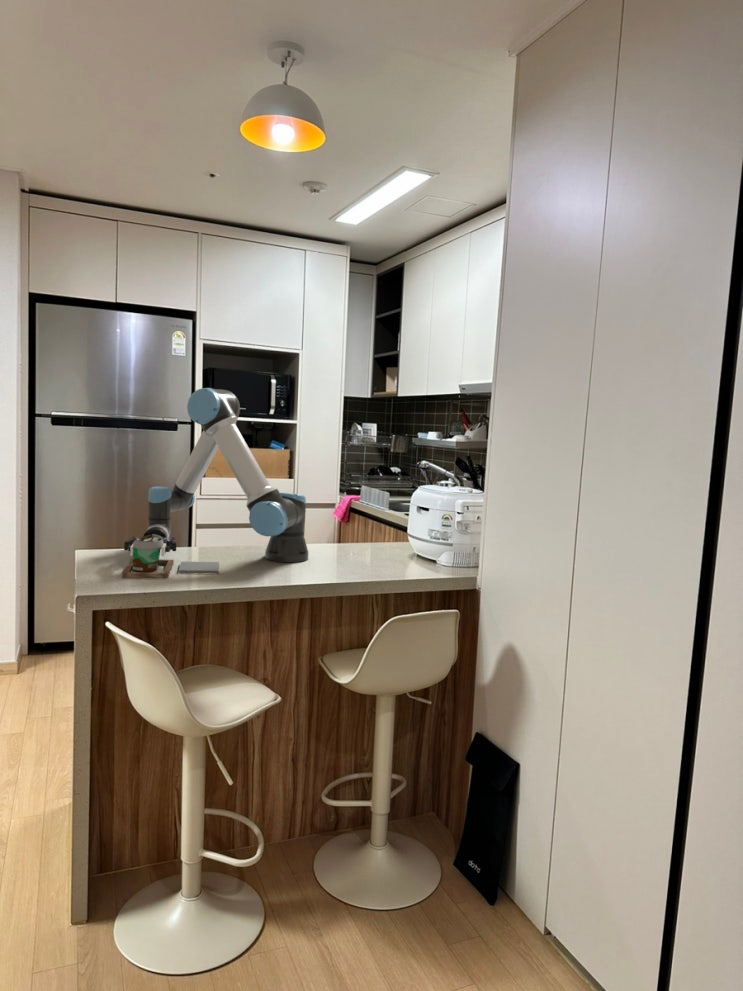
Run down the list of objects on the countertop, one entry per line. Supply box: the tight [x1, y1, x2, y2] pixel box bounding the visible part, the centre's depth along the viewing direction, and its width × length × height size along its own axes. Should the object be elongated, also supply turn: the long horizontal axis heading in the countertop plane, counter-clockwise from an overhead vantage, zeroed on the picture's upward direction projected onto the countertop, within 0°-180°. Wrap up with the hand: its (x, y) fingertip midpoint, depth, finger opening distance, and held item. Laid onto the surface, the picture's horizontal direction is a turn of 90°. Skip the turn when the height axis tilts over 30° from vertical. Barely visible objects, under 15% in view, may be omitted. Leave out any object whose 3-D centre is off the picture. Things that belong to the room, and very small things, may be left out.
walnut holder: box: [121, 558, 175, 579], centre depth 213 cm, size 13×19×2 cm
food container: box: [132, 534, 163, 572], centre depth 212 cm, size 12×6×10 cm, turn 170°
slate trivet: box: [177, 561, 220, 574], centre depth 219 cm, size 12×12×1 cm
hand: (147, 551), depth 208 cm, fingers closed on food container, 8 cm apart
